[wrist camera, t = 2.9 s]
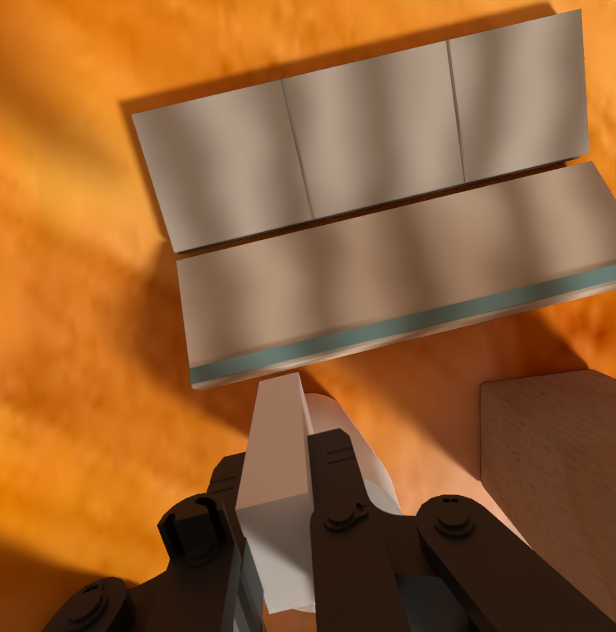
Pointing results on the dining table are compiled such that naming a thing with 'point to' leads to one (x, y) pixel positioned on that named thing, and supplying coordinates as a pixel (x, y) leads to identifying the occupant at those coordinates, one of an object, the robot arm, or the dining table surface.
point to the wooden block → (557, 472)
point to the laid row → (368, 132)
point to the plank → (397, 275)
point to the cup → (373, 472)
